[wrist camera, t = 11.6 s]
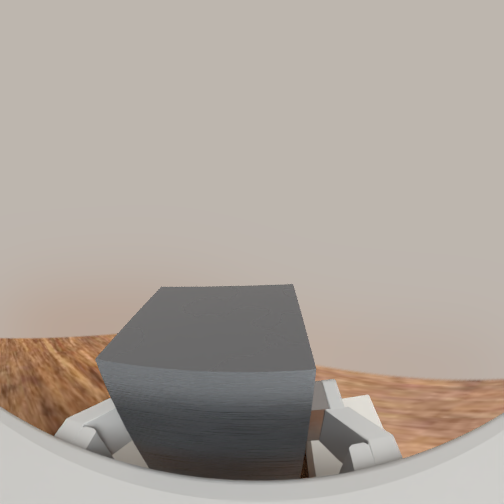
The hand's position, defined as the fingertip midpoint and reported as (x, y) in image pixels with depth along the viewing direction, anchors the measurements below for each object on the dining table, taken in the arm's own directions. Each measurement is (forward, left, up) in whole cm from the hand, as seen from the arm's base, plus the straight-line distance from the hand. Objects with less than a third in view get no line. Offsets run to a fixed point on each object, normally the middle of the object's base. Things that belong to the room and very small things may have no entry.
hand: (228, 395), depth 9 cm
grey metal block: (0, -1, -6) cm, 6 cm away
